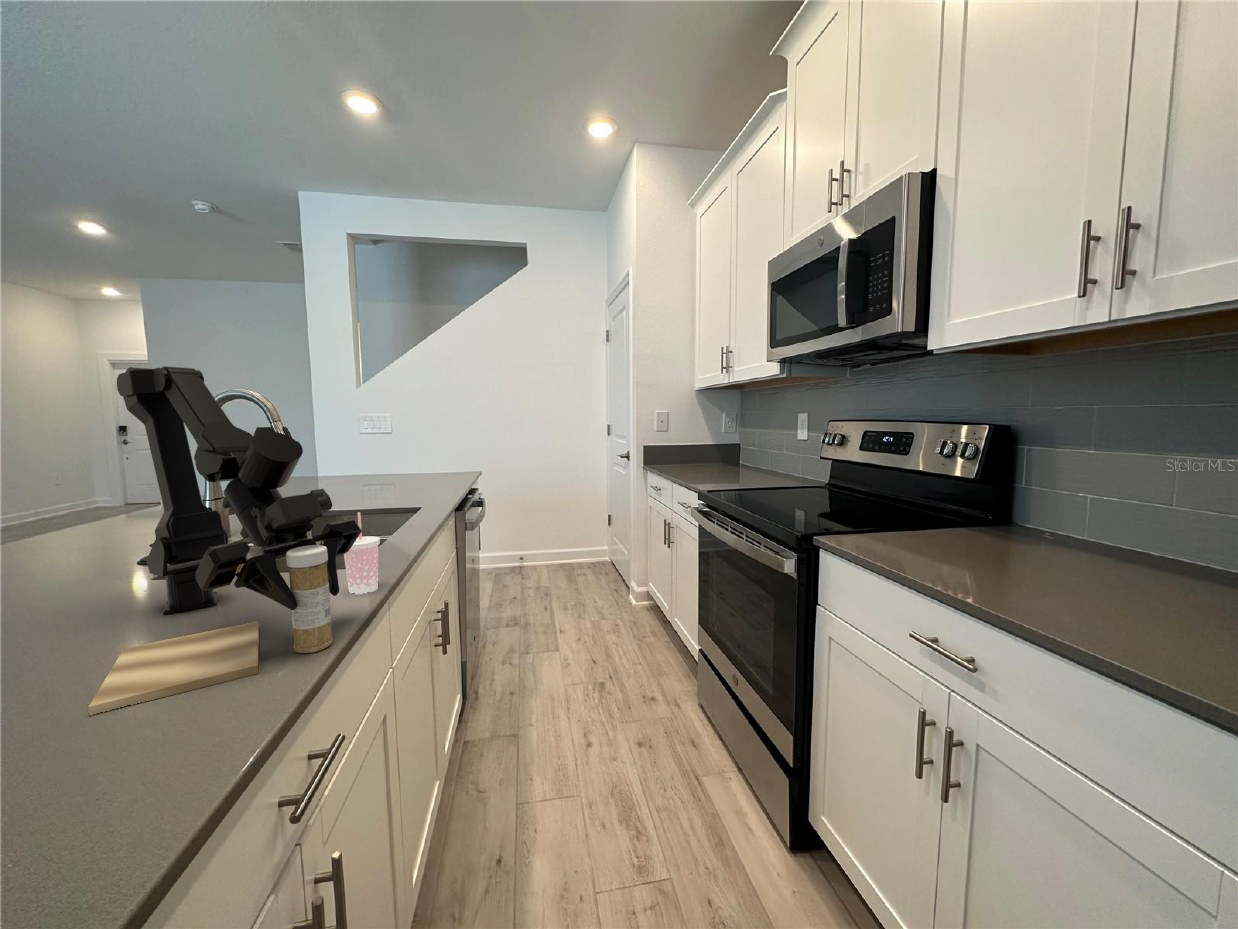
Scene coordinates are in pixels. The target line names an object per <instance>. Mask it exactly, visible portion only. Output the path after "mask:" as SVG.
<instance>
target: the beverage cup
mask: <svg viewBox="0 0 1238 929" xmlns="http://www.w3.org/2000/svg"><path fill="white" fill-rule="evenodd" d="M357 524H358V525H359V527H360V528H361V530H362V532H361V533H360V535H359V536H358V538H357V539H356V541H355V542H354V544H353V545H352V547H351V548H350V550H349V551H348V552H347V553H345V554H344V555H343V556H344V565H345V572H346V573H345V574H346V579H347V586H348V593H349V592H350V593H349V594H351V593H355V594H354V595H364V594H363V593H365V594H368V593H367V592H370V593H372V592H375V591H377V590H378V589H379V585H378V584H379V545H380V542H381V539H380V537H379V536H375V535H374V536H372V535H371V536H370V535H369V536H368V535H367V536H363V535H362V534H363V529H362V516H361V511H359V512H358V511H357Z"/></svg>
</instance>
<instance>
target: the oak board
mask: <svg viewBox="0 0 1238 929" xmlns="http://www.w3.org/2000/svg"><path fill="white" fill-rule="evenodd" d="M259 637H260V624H259V620H256V621H252V622H247V623H241V624H237V625H232V626H228V627H227V626H226V627H224V628H217V629H213V630H208V631H203V632H197V633H194V634H192V633H191V634H187V635H183V636H178V637H174V638H168V639H164V640H163V639H162V640H158V641H153V642H148V643H145V644H144V643H143V644H138V645H133V646H129V647H128V646H127V647H125V648H123V650H122V651H121V652H120V654H119V656H118V658H117V660H116V661H115V663H114V664H113V666H112V667H111V669H110V671H109V673H108V674H107V676H106V678H105V679H104V680H103V682H102V684H101V686H100V687H99V689H97V691H96V694H95V696H94V697H93V699H92V700H91V702H90V704H89V705H88V714H89V715H91V716H94V715H93V714H95V715H98V714H97V713H99V714H101V713H100V712H103V713H106V712H105V711H107V712H110V710H111V711H113V710H112V709H115V708H119V709H121V708H120V707H123V708H125V707H124V706H127V705H131V706H134V704H135V705H137V703H139V704H142V703H145V701H146V702H150V701H153V700H157V699H161V698H165V697H170V696H173V695H177V694H182V693H186V692H190V691H194V690H197V689H201V688H205V687H209V686H213V685H217V684H220V683H225V682H230V681H233V680H236V679H242V678H245V677H248V676H253V675H257V674H259V645H260V644H259V639H260V638H259ZM141 702H142V703H141ZM127 707H128V706H127ZM115 710H116V709H115ZM89 715H88V716H89Z"/></svg>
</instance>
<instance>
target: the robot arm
mask: <svg viewBox="0 0 1238 929" xmlns="http://www.w3.org/2000/svg"><path fill="white" fill-rule="evenodd" d="M203 374H204V373H203V372H202V371H201V370H200V369H199V370H198V369H195V368H193V367H181V366H178V367H177V366H162V367H156V368H150V367H149V368H146V367H128V368H127V369H126V370H125V371H124V372H122V373H119V374H118V375H117V377H116V388H117V392H118V395H120V396H121V397H122V399H123V401H124V403H125V408H126V410H127V411H128V413H130V414H131V415H132V416H134V417H135V418H136V419H137V420H138V421H139V422H141V423H142V424H143V425H144V428H145V432H146V437H147V441H148V445H149V449H150V454H151V458H152V463H153V466H154V472H155V477H156V480H157V484H158V489H159V493H160V498H161V502H162V505H163V506H162V507H163V514H162V516H161V517H160V520H159V521H158V523H157V525H156V527H155V529H154V536H155V538H154V541H153V544H152V546H151V548H150V551H149V553H148V556H147V559H146V564H147V568H148V569H147V570H148V572H149V574H151V575H154V576H157V577H161V578H163V577H165V585H166V592H167V601H166V604H165V605H164V607H163V608H162V614H163V615H166V614H172V613H179V612H184V611H189V610H195V609H199V608H206V607H211V606H216V605H217V602H218V599H219V595H220V594H219V591H214V590H215V589H220V588H223V587H227V586H230V585H231V584H232V582H233V581H234V580H235V579H236V580H235V581H234V583H233V586H234V587H235V588H236V589H240V588H245V589H248V590H250V591H253V592H255V593H258V594H260V595H262V596H264V597H267V598H268V599H270V600H272V601H274V602H276V603H277V604H279V605H280V606H281V605H282V606H283V607H285V608H287V609H289V610H290V611H291V610H295V609H296V608H297V606H298V603H297V601H296V599H295V597H294V595H293V593H292V591H291V590H290V586H289V585H288V583H287V582H286V580H285V579H284V577H283V576H282V573H280V571H279V569H278V567H277V560H281V559H286V553H287V552H288V551H289V550H291V549H294V548H297V547H302V546H309V545H323V546H325V547H326V548H327V553H328V560H327V562H328V563H327V574H328V582H329V593H330V594H331V595H332V596H333V597H335V596H337V595H338V594H339V593H340V583H339V577H338V570H337V557H340V556H344V554H345V553H347V552H348V551H349V550H350V548H351V547H352V545H353V544H354V542H355V541H356V539H357V538H358V537H359V535H360V533H361V532H362V533H363V529H362V527H361V528H360V527H359V525H358V522H357V521H356V520H354V519H344V520H339V521H334V522H329V523H326V524H325V526H324V527H323V530H321V532H320V534H318V535H314V536H307V533H309V532H311V531H312V530H313V528H314V525H313V523H312V522H313V521H314V520H316V519H317V518H322V517H323V516H324V514H325V513H327V512H329V511H331V509H332V507H333V502H332V499H331V497H330V495H329V494H328V493H327V492H326V490H325V489H324V488H319V489H318V488H317V489H312V490H310V491H309V492H308V493H306V494H305V493H304V494H297V495H291V496H285V497H283V496H282V494H281V493H280V491H279V489H280V488H282V487H284V486H285V485H287V484H288V481H289V480H290V478H291V476H292V474H293V472H294V471H295V469H296V467H297V465H298V462H299V461H300V459H301V457H302V455H303V452H304V450H303V445H302V444H301V443H300V442H299V441H297V440H295V438H293V437H291V436H290V435H287V434H285V433H281V432H278V431H276V429H275V428H274V426H260V427H259V426H257V427H256V429H255V431H254V433H253V434H252V433H250V432H248V431H246V430H244V429H242V428H240V427H237V426H235V425H234V424H233V423H232V421H231V420H230V419H229V417H228V416H227V414H226V413H225V411H224V410H223V408H222V407H221V406H220V404H219V403H218V401H217V400H216V398H215V396H213V394H212V392H211V391H210V390H209V388H208V387H207V385H206V384H205V378H204V375H203ZM186 428H187V429H188V431H189V432H190V435H191V436H192V438H193V439H194V440H195V443H196V445H197V446H196V450H195V452H194V456H193V457H192V452H191V449H190V444H189V439H188V435H187V431H186V430H187V429H186ZM193 460H194V461H193ZM194 463H195V466H194ZM195 467H196V468H195ZM195 469H196V470H197V472H198V474H199V475H200V476H202V477H203V479H204V480H205V481H206V482H208V483H221V482H222V483H223V482H227V484H226V486H225V489H224V491H223V495H224V497H223V499H222V509H225V510H226V509H232V510H233V513H234V514H235V516H236V518H237V519H238V520H239V523H240V525H241V526H242V528H241V530H240V533H239V534H240V536H241V538H242V539H249V540H250V541H251V543H252V545H251V546H250V545H249V544H248V542H247V541H243V540H242V541H241V540H240V541H235V542H230V543H229V535H228V534H227V531H226V530H225V528H224V526H223V523H222V517H221V514H220V513H219V511H217V510H215V509H214V510H211V509H210V508H208V507H207V506H206V505H205V504H204V503H203V500H202V499H203V498H202V495H201V491H200V488H199V482H198V478H197V474H196V470H195ZM361 529H362V530H361Z"/></svg>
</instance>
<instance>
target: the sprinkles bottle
mask: <svg viewBox="0 0 1238 929" xmlns="http://www.w3.org/2000/svg"><path fill="white" fill-rule="evenodd" d="M285 559H286V566H287V567H288V568H287V569H288V574H289V588H290V590H291V591H292V593H293V595H294V597H295V599H296V601H297V603H298V606H297V608H296V609H295V610H290V611H291V612H290V613H291V626H292V627H293V628H292V630H293V640H294V642H293V643H294V645H293V650H294V651H295V652H296V653H299V654H301V653H302V654H309V653H311V654H312V653H315V652H319V651H322V650H324V649H327V648H328V647H329V646H331V645H332V644H333V642H334V639H333V636H332V634H333V633H332V632H333V631H332V622H331V621H332V612H331V611H332V610H331V595H330V594H331V593H330V592H329V582H328V574H327V563H328V562H327V560H328V553H327V548H326V547H325V546H323V545H309V546H302V547H297V548H294V549H291V550H289V551H288V552H287V553H286V558H285Z"/></svg>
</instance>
